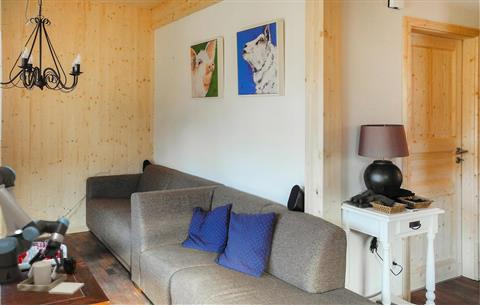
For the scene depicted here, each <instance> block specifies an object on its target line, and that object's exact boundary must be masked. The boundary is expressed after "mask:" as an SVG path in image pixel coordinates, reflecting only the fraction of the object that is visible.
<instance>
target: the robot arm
mask: <svg viewBox="0 0 480 305" xmlns="http://www.w3.org/2000/svg"><path fill="white" fill-rule="evenodd" d="M16 180H17V173H16V172H15V170H14V169H13V168H12V167H9V166H5V165H2V166H0V210H1V213H2V217H3V220H4V224H5V227H6V234H5V237H4V238H0V286H4V285H5V284H6V285H11V284H15V283H17V282H19V281H21V280H23V272H22V270H21V268H20V266H19V257H21V256H22V255H24V254H26V253H27V252H29V251H30V250H31V249H32V247H33V246H34V240H37V239H38V238H39V237H41V236H43V235H45V234H50V236H49V238H48V241H47V243H46V247H45V249H42V248H40V249H39V250H38V252H37V253H36V254H35V255H33V257H32V258H31V259H30V260H29V261H28V263H27V264H28V265H30V267H29V269H28V271H29V272H28V274H27V278H31V277H32V276H33V266H32V265H33V264H34V263H36V262H39V261H44V260H45V259H46V260H47V259H53V260H54V262H55V264H56V265H55V266H54V268H53V269H52V270H53V271H52V276H51V277H52V278H53V279H52V280H56V279H55V276H56V274H59V271H60V268H63V267H64V259H63V258H64V253H65V251H63V250H62V249H61V247H62V244H63V242H64V239H65V237H66V234H67V232H68V230H69V227H70V220H69V219H67V218H65V217H58V218H57V219H56V220H45V219H36V220H33V219H32V218H31V216H29V214H28V212H26V211H25V210H24V208H23V207H22V206H21V205H20V204H19V202H17V199H16V195H15V192H14V189H15V187H16V184H15V182H16ZM57 255H59V256H58V257H59V259H58V257H57Z"/></svg>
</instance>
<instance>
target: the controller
mask: <svg viewBox="0 0 480 305" xmlns="http://www.w3.org/2000/svg"><path fill="white" fill-rule="evenodd" d="M63 259H64V267H62V269H63V270H64V273H65V274H72V273H74V272H75V270H76V268H77V267H76V266H77V260H76V259H74V256H70V257H69V258H68V257H63Z"/></svg>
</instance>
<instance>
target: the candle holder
mask: <svg viewBox="0 0 480 305" xmlns="http://www.w3.org/2000/svg"><path fill="white" fill-rule="evenodd" d="M32 266H33V275H34V281H33V283H34V284H33V285H47V286H48V285H50V284H51V283H52V279H51V275H52V273H53V271H52V270H53V268H52V267H53V262H52V261H51V260H42V261H39V262H36V263H34V264H33V265H32ZM33 275H32V276H33Z"/></svg>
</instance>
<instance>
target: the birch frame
mask: <svg viewBox="0 0 480 305" xmlns="http://www.w3.org/2000/svg"><path fill="white" fill-rule="evenodd" d="M67 274H68V273H56V276H55V279H53V278H52V277H51V280H54V281H53V282H51V284H50V285H48V286H47V285H35V284H31V283H34V275H32V277H31V278H29V277H27V278H26V279H25V280H23V281H21V282H20V283H18V284H17V286H16V287H17V288H16V289H17V291H21V292H23V291H25V292H44V293H46V292H47V293H49V291H50V290H52V289H53V288H54V287H56V286H57V285H59V284H60V283H61V282H66V280H68V275H67ZM51 276H52V275H51Z"/></svg>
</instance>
